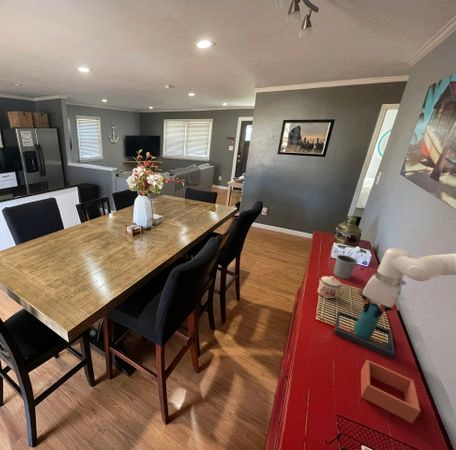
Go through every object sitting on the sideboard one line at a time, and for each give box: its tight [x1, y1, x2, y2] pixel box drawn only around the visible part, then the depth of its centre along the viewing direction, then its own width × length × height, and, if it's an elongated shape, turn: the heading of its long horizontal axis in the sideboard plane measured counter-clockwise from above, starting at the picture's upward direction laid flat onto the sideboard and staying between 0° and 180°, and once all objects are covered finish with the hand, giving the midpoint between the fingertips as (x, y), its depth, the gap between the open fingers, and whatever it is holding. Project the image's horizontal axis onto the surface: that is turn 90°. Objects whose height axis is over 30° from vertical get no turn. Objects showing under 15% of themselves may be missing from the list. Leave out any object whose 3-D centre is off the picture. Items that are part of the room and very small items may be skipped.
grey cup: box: [333, 254, 358, 280], centre depth 151 cm, size 10×10×12 cm
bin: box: [360, 359, 421, 424], centre depth 82 cm, size 13×13×6 cm
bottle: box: [354, 302, 381, 339], centre depth 104 cm, size 6×6×16 cm
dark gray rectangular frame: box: [333, 310, 396, 359], centre depth 107 cm, size 20×16×3 cm
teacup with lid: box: [316, 275, 347, 299], centre depth 131 cm, size 12×9×12 cm
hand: (371, 313), depth 103 cm, fingers closed on bottle, 3 cm apart
